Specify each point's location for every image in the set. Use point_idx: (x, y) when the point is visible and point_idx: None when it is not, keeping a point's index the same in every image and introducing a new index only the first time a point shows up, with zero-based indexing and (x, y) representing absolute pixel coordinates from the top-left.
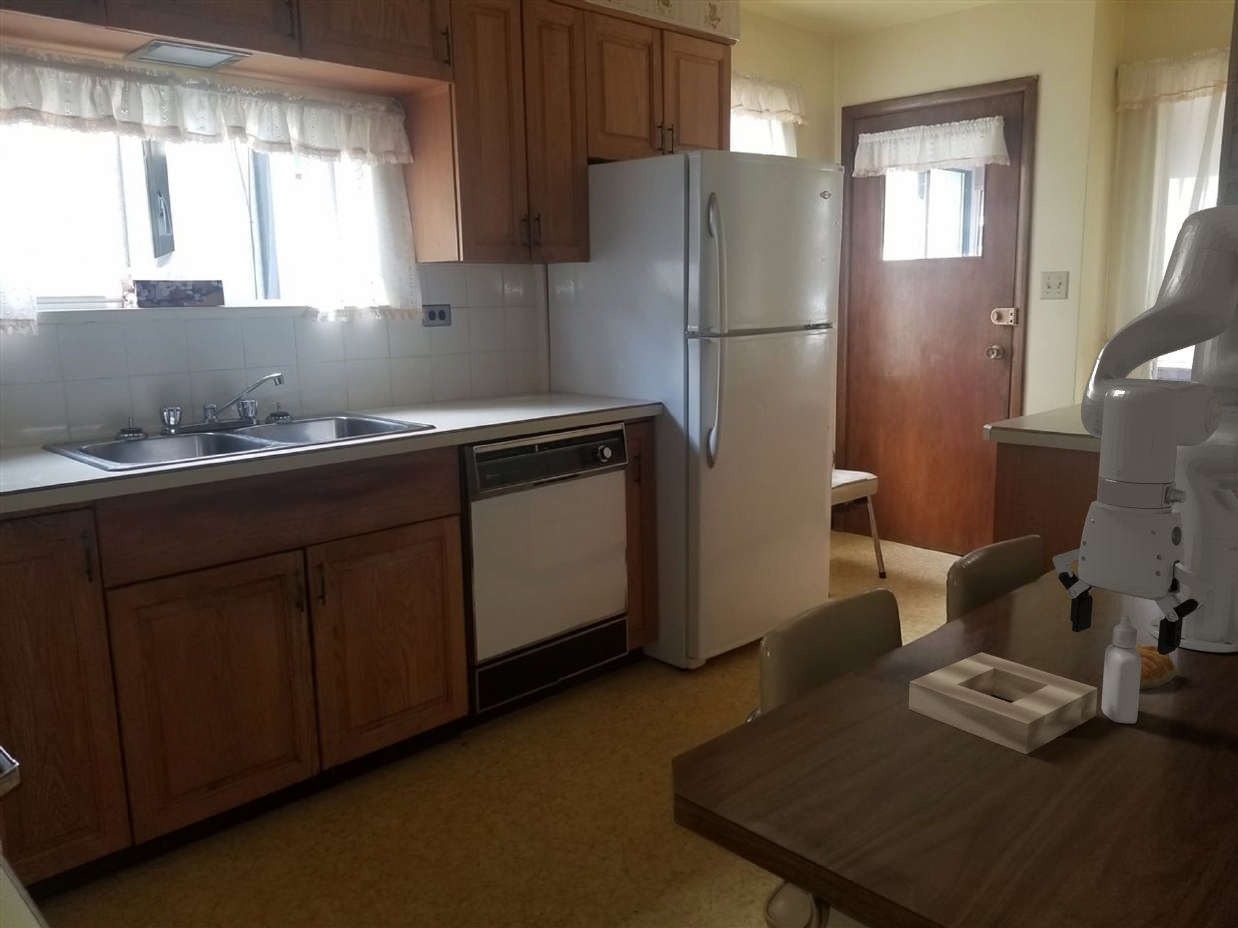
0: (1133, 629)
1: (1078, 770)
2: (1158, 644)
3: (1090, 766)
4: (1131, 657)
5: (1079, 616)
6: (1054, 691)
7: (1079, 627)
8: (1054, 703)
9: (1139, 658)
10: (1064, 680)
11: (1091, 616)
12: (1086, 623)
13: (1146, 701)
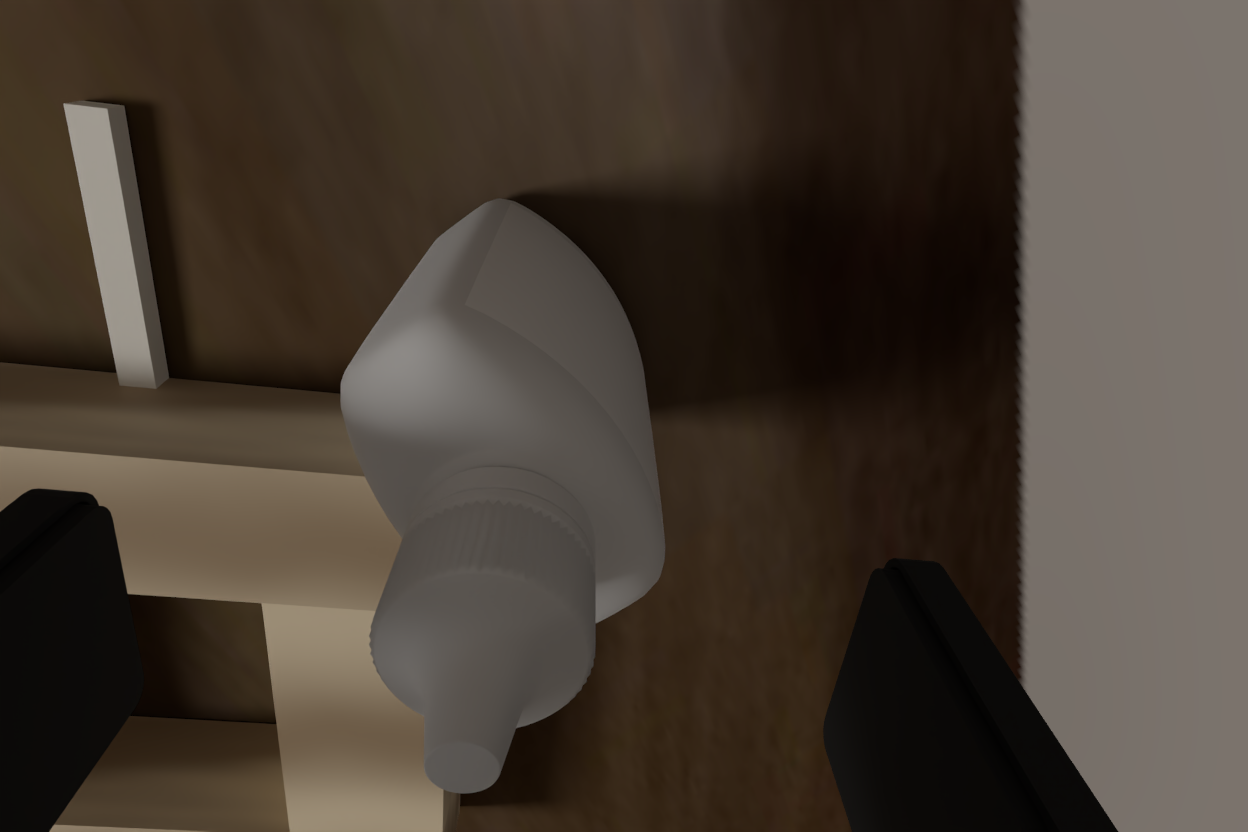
0: (567, 666)
1: (621, 796)
2: (844, 792)
3: (638, 761)
4: (611, 605)
5: (50, 824)
6: (328, 646)
7: (122, 710)
8: (407, 749)
9: (650, 550)
10: (273, 502)
11: (28, 571)
12: (87, 610)
13: (582, 9)
